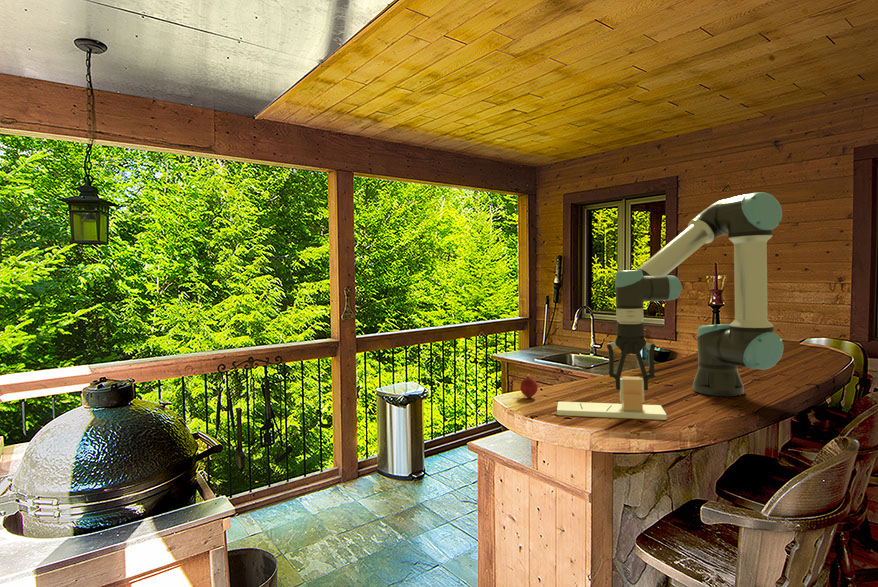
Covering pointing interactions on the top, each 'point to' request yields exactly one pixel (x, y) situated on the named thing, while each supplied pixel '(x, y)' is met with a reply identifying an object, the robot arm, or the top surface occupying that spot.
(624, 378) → the block
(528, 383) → the onion
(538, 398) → the top surface
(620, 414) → the board
